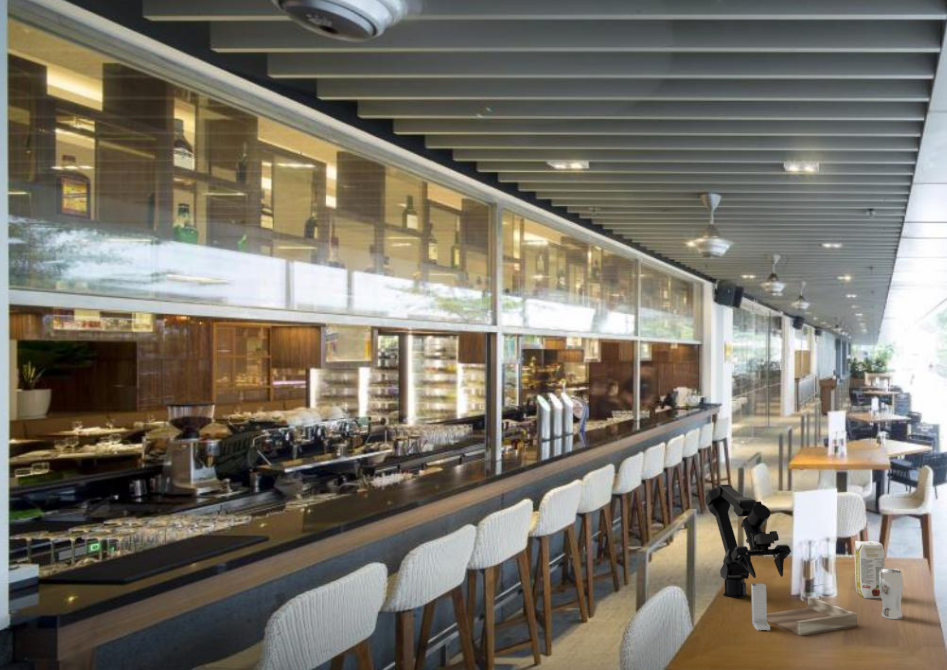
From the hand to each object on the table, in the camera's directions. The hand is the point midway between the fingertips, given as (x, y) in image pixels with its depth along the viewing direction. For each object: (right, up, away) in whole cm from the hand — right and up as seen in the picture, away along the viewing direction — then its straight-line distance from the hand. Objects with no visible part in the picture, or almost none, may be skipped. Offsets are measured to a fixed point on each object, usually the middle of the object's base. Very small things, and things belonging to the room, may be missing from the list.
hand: (768, 577), depth 269 cm
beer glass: (+40, -13, 0) cm, 42 cm away
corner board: (+11, -13, -4) cm, 18 cm away
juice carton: (+45, -14, +23) cm, 52 cm away
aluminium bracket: (-5, -14, -8) cm, 17 cm away
